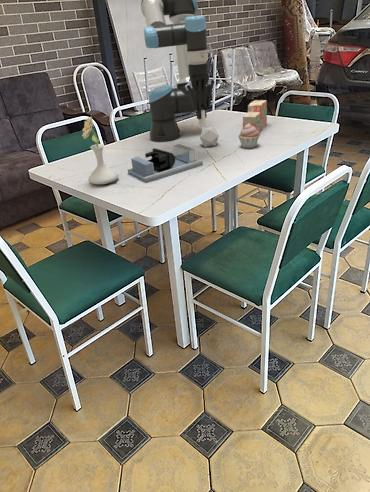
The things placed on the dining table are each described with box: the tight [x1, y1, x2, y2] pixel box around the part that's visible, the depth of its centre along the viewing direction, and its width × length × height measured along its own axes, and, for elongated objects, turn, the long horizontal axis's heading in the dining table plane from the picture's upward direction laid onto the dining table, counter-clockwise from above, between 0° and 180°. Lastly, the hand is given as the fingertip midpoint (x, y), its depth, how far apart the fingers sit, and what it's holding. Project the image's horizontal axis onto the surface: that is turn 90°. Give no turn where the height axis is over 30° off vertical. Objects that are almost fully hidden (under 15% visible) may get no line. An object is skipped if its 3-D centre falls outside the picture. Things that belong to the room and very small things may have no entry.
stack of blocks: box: [242, 99, 268, 134], centre depth 202 cm, size 21×6×12 cm, turn 157°
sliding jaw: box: [173, 143, 197, 163], centre depth 171 cm, size 11×6×5 cm, turn 34°
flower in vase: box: [82, 116, 119, 186], centre depth 155 cm, size 13×11×25 cm
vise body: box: [127, 156, 204, 184], centre depth 166 cm, size 14×26×6 cm, turn 124°
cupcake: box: [238, 123, 261, 149], centre depth 182 cm, size 9×9×10 cm
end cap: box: [144, 147, 175, 172], centre depth 164 cm, size 10×7×7 cm
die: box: [199, 126, 220, 148], centre depth 189 cm, size 8×9×10 cm
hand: (202, 126), depth 170 cm, fingers closed
